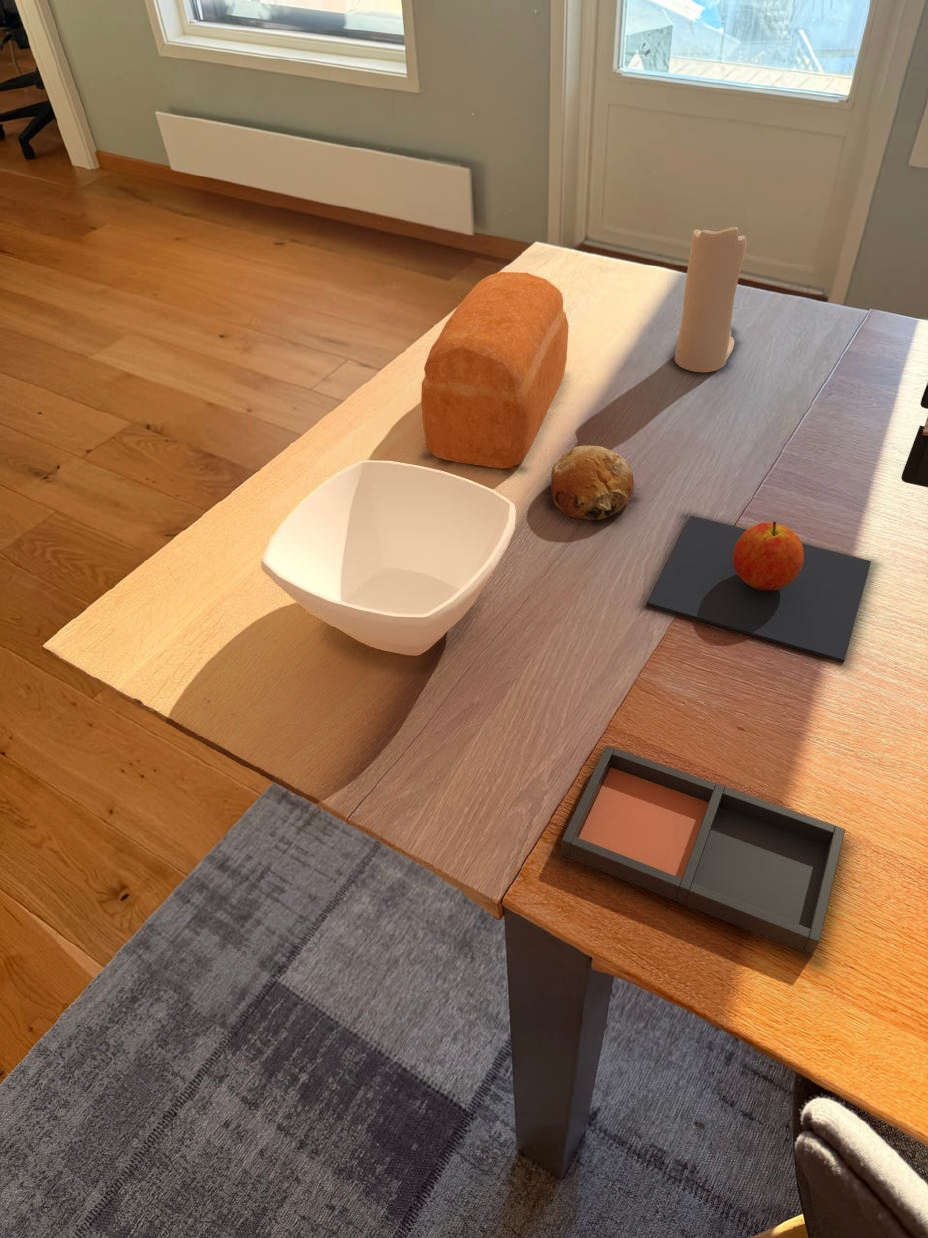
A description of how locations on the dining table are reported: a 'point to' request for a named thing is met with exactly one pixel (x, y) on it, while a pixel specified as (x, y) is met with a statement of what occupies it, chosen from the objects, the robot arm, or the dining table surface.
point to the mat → (763, 592)
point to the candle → (710, 299)
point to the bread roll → (591, 483)
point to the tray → (707, 847)
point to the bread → (495, 371)
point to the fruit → (768, 556)
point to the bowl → (391, 552)
